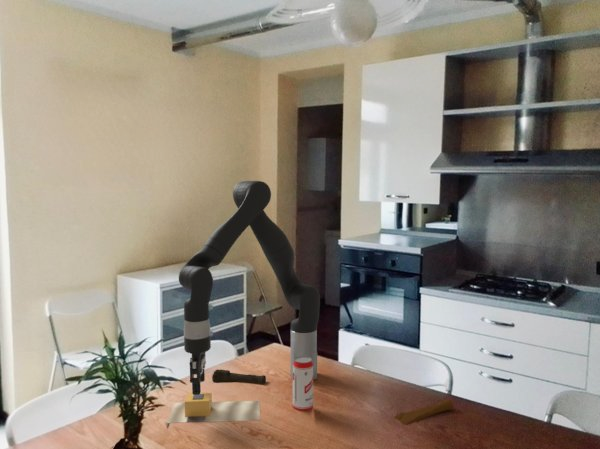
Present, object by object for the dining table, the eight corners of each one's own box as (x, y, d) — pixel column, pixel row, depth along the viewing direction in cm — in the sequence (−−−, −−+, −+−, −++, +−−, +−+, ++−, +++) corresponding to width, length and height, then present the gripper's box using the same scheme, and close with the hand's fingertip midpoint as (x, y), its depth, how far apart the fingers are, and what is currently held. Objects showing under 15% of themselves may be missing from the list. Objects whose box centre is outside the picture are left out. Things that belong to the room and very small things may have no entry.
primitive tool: (404, 426, 135) (404, 414, 135) (392, 417, 140) (392, 406, 140) (455, 412, 144) (455, 401, 143) (442, 405, 149) (442, 394, 148)
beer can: (316, 408, 145) (316, 357, 144) (308, 417, 139) (308, 364, 138) (297, 403, 148) (298, 354, 146) (289, 412, 142) (289, 361, 141)
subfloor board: (260, 405, 147) (260, 400, 147) (259, 425, 135) (259, 420, 135) (175, 407, 145) (174, 402, 145) (166, 427, 133) (166, 422, 133)
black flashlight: (266, 385, 162) (266, 371, 162) (263, 389, 158) (262, 376, 158) (215, 379, 167) (215, 366, 166) (210, 383, 163) (210, 370, 163)
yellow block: (211, 406, 142) (211, 391, 142) (209, 415, 137) (209, 400, 137) (188, 407, 142) (187, 392, 142) (184, 416, 136) (184, 401, 136)
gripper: (207, 341, 130) (208, 398, 132) (213, 325, 145) (214, 376, 146) (179, 342, 130) (181, 399, 132) (188, 326, 144) (189, 377, 146)
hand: (198, 387), depth 139 cm, fingers open, 8 cm apart
